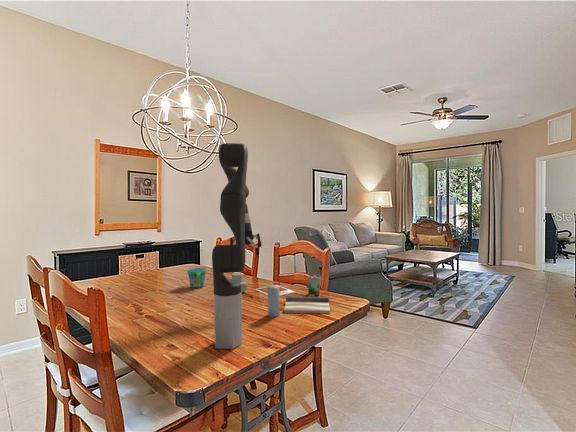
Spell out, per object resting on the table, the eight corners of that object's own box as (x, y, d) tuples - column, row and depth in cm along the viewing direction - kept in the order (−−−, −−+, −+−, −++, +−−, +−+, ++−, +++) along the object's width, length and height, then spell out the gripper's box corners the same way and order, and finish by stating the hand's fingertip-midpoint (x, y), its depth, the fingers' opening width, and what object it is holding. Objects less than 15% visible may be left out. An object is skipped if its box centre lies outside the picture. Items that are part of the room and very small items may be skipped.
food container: (320, 299, 154) (320, 279, 154) (308, 298, 155) (307, 278, 155) (322, 292, 166) (322, 273, 166) (311, 291, 167) (311, 273, 167)
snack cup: (207, 289, 174) (207, 271, 174) (187, 291, 171) (187, 272, 171) (206, 283, 189) (205, 266, 189) (187, 284, 186) (187, 267, 186)
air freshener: (234, 296, 161) (234, 276, 161) (224, 293, 167) (224, 274, 166) (250, 291, 169) (249, 273, 169) (240, 289, 175) (239, 271, 174)
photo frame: (272, 296, 158) (254, 288, 172) (272, 298, 158) (254, 290, 172) (295, 291, 166) (276, 284, 181) (295, 293, 166) (276, 286, 181)
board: (330, 313, 133) (330, 306, 133) (283, 312, 135) (283, 305, 135) (328, 303, 147) (328, 297, 147) (286, 302, 149) (286, 296, 149)
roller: (279, 317, 130) (278, 288, 129) (267, 316, 130) (266, 288, 130) (280, 313, 135) (280, 285, 134) (268, 312, 135) (268, 285, 135)
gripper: (226, 224, 142) (231, 259, 138) (257, 220, 144) (263, 254, 140) (228, 228, 149) (232, 262, 145) (257, 224, 151) (263, 257, 147)
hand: (247, 258), depth 142 cm, fingers open, 8 cm apart
